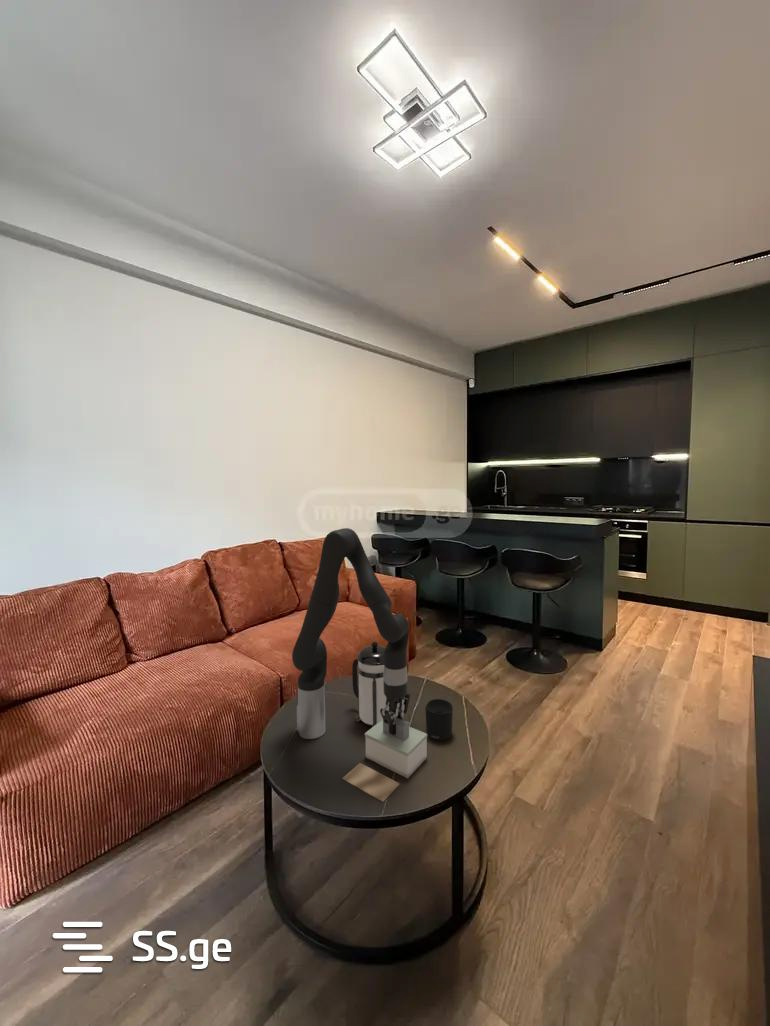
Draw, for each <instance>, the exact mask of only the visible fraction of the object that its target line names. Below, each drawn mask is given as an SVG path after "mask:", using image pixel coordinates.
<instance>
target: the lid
mask: <svg viewBox="0 0 770 1026" xmlns="http://www.w3.org/2000/svg"><path fill="white" fill-rule="evenodd" d="M391 719H393V717H392V716H391ZM366 737H367V738H369V739H371V740H373V741H375V742H377V743H379V744H382V745H384V746H386V747H388V748H390V749H392V750H394V751H397V752H399V753H401V754H403V755H405V756H407V757H408V756H409V755H410V754H411V753H412V752H413V751H414V750H415V749H416V748H417V747H418V746H419V745H420V744H421V743H422V742H423V741H424V740H425V739H426V738H428V735H427V732H423V731H421V730H419V729H416V728H413V727H412V726H410V722H409V721H407V720H404V719H403V720H402V719H399V718H397V717H396V734H395V735H392V734H390V733H389V724H386V723H384V721H383V719H382V720H381V721H380V722H379V723H377V724H376V725H375V726H374V727H373V726H372V727H371V728H370V729H368V730H367V731H366V732H365V733H364V738H366Z"/></svg>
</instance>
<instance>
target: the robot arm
mask: <svg viewBox="0 0 770 1026" xmlns="http://www.w3.org/2000/svg"><path fill="white" fill-rule="evenodd" d="M345 558H346V559H347V560H348V561H349V563H350V564H351V567H352V568H353V570H354V572H355V575H356V580H357V583H358V589H359V592H360V594H361V596H362V598H363V600H364V601H365V603H366V605H367V607H368V608H369V609H370V611H371V612H372V615H373V620H374V622H375V625H376V628H377V631H378V632H379V634H380V636H381V638H383V639H384V640H385V641H386V642H387V644H386V646H385V647H386V648H385V650H384V671H383V682H384V694H385V696H386V698H387V699H386V706H385V707H384V709H383V708H381V709H380V713H381V715H382V718H383V721H384V723H386V724H389V733H390V734H392V735H395V734H396V717H397V718H399V719H402V720H404V719H403V718H404V717H405V714H407V713H408V708H409V704H410V698H411V694H410V693H408V667H407V649H408V642H409V637H410V624H409V620H408V618H407V617H406V616H405V615H404V614H402V613H393V612H392V610H391V607H392V600H391V597H389V595H388V593H387V591H386V590H385V588H384V586H383V585H382V583H381V582H380V581H379V578H378V577H377V575H376V572H375V571H374V569H373V567H372V565H371V562H370V560H369V557H368V555H367V554H366V551H365V549H364V547H363V544H362V542H361V540H360V538H359V535H358V534H357V533H356V531H355V530H354V529H351V528H349V527H345V528H339V529H335V530H333V531H330V532H329V533H327V535H326V536H325V538H324V539H323V543H322V548H321V554H320V558H319V559H320V560H319V566H318V569H317V572H316V573H317V574H316V578H315V581H314V585H313V588H312V590H311V591H312V592H311V594H310V597H309V601H308V606H307V609H306V612H305V616H304V620H303V623H302V626H301V629H300V632H299V634H298V637H297V640H296V642H295V643H294V646H293V649H292V655H291V658H292V659H291V660H292V664H293V666H294V667H295V668H296V669H297V670H298V671H301V673H300V674H299V676H298V678H297V701H298V702H297V703H298V704H297V705H296V728H297V730H296V731H297V732H298V734H299V735H298V736H300V737H301V738H303V739H306V740H314V739H315V740H316V739H318V738H321V737H322V736H323V735H324V734H325V732H326V701H325V700H326V697H325V695H326V693H325V680H326V679H325V678H326V676H327V673H328V672H327V671H328V670H327V668H328V666H327V664H328V662H327V661H328V652H327V646H326V644H325V642H324V641H323V639H322V638H320V637H321V635H322V633H323V632H324V630H325V629H326V628H327V626H328V625H329V623H330V621H331V620H332V619H333V616H334V615H335V612H336V610H337V607H338V603H339V600H340V584H339V573H340V570H341V567H342V564H343V562H344V560H345ZM391 716H392V717H393V719H391Z"/></svg>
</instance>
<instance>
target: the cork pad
mask: <svg viewBox="0 0 770 1026" xmlns="http://www.w3.org/2000/svg"><path fill="white" fill-rule="evenodd" d="M342 780H343V781H345V782H347V783H348V784H350V785H352V786H354V787H355V788H357V789H359V790H361V791H362V792H364V793H366V794H367V795H370V796H371V797H373V798H375V799H377V800H378V801H380V802H382V803H384V802H385V801H386V800H387V799H388V798H389V796H391V795H392V793H394V792H395V790H396V789H397V788H398V787H399V786H400V785H401V784H400V782H398V781H395V780H393V779H392V778H390V777H388V776H386V775H384V774H382V773H381V772H378V771H376V770H375V769H373V768H371V767H368V766H367V765H365V764H363V763H361V762H359V763H358V764H357V765H356V766H354V767H353V768H352V769H351V770H350V771H349V772H348V773H346V774H345V775H344V776H343V777H342Z"/></svg>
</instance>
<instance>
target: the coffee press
mask: <svg viewBox="0 0 770 1026" xmlns="http://www.w3.org/2000/svg"><path fill="white" fill-rule="evenodd" d="M385 648H386V646H384V645H380V644H379V643H378V642H377V641H372V643H371V645H367V646H364V647H363V648H361V649H360V650H359V652H358V654H357V655H356V657H357V658H356V659H354V660H353V662H352V670H351V671H352V690H353V693H354V695H355V697H356V698H357V700H358V703H357V705H358V713H357V715H356V716H355V722H356V723H359V722H360V721H362V722H363V723H364V724H366V725H369V726H372V727H374V726H375V725H376V724H377V723H379V722H380V721H381V720H382V719H383V718H382V715H381V713H380V709H381V708H383V709H384V707H385V706H386V699H387V698H386V696H385V694H384V682H383V671H384V650H385ZM357 675H358V687H357ZM358 717H359V719H358Z"/></svg>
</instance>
